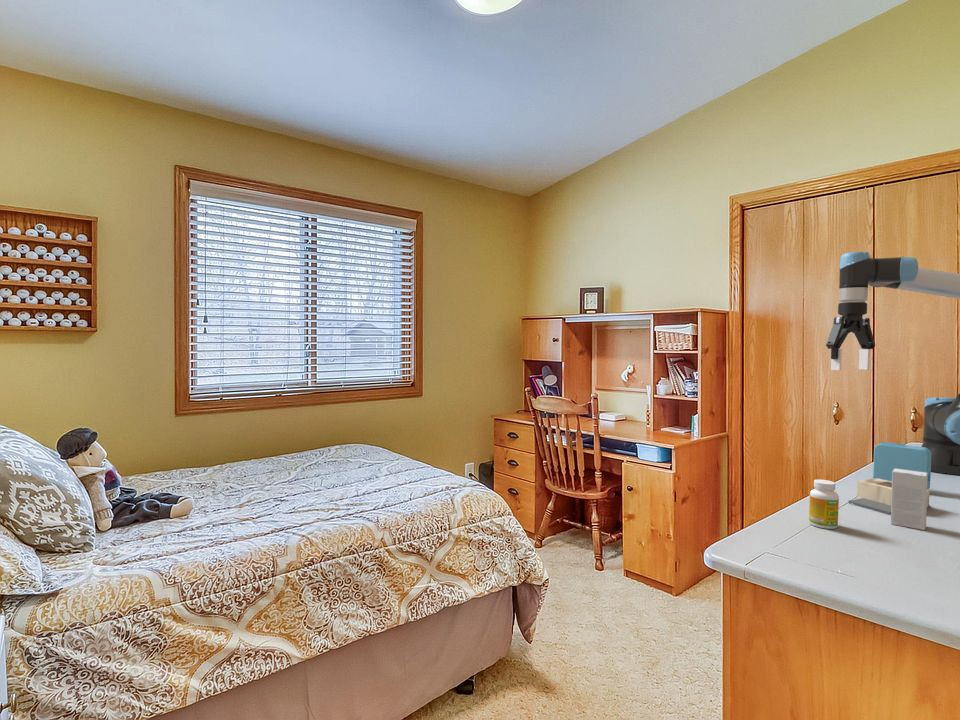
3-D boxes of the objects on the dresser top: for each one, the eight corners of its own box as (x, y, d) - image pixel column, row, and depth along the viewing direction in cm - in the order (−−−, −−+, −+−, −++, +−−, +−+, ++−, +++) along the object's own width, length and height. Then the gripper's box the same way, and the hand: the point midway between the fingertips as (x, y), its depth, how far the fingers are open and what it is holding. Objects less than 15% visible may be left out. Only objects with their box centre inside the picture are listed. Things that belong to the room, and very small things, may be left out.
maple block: (876, 477, 142) (929, 489, 131) (876, 493, 142) (928, 506, 131) (857, 480, 139) (909, 493, 128) (856, 496, 139) (909, 510, 128)
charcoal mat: (887, 496, 142) (887, 494, 142) (929, 506, 133) (929, 504, 133) (848, 503, 135) (848, 500, 135) (889, 514, 127) (889, 512, 127)
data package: (929, 491, 147) (931, 448, 146) (926, 494, 144) (928, 450, 143) (876, 482, 156) (878, 441, 155) (872, 485, 153) (874, 443, 152)
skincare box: (926, 526, 119) (928, 472, 119) (924, 531, 116) (927, 476, 115) (891, 519, 123) (894, 467, 123) (889, 524, 120) (891, 471, 120)
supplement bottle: (828, 531, 115) (830, 486, 115) (803, 523, 120) (805, 480, 120) (842, 527, 118) (844, 483, 117) (817, 519, 123) (819, 477, 122)
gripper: (865, 304, 177) (862, 368, 178) (814, 301, 168) (811, 369, 168) (890, 303, 170) (887, 369, 171) (838, 299, 161) (835, 370, 162)
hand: (850, 369), depth 170 cm, fingers open, 13 cm apart
